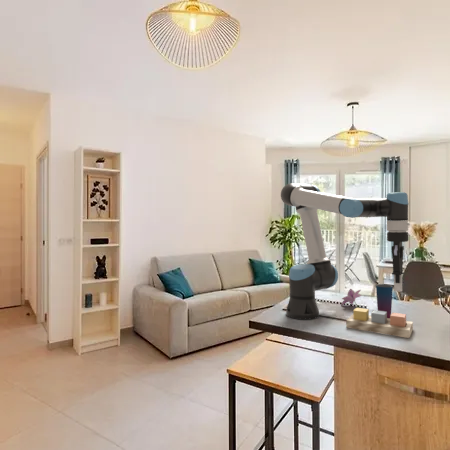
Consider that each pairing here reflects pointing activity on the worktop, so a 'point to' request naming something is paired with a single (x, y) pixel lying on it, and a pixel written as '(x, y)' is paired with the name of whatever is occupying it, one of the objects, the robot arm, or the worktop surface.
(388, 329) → the button board
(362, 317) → the yellow block
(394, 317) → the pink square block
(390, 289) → the cup
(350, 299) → the lily
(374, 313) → the grey block
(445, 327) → the worktop surface
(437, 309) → the worktop surface
